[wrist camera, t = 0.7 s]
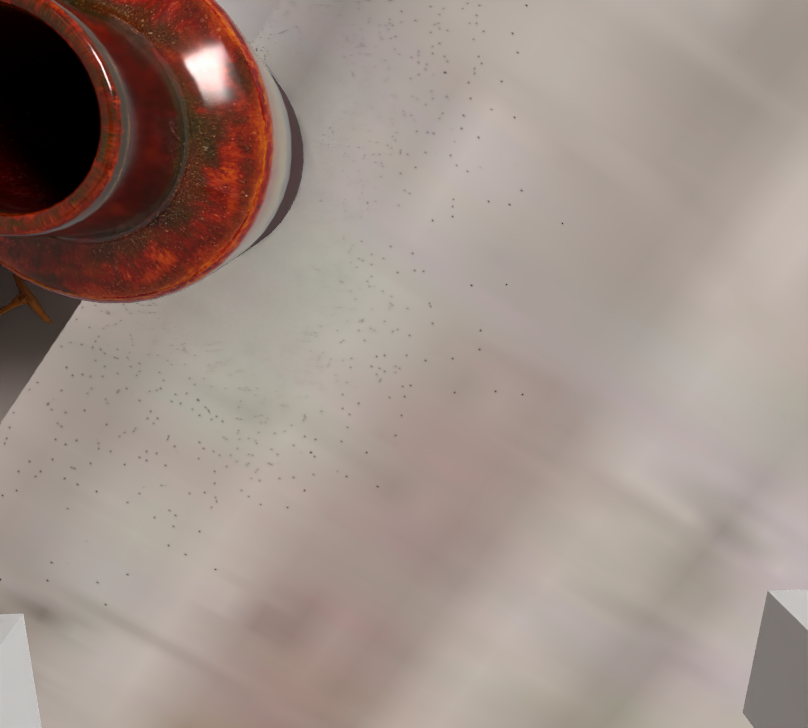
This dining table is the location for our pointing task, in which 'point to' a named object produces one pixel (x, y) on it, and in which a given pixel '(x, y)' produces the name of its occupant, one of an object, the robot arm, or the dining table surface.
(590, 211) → the dining table surface
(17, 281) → the decorative duck model
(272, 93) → the vase
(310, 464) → the dining table surface
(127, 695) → the dining table surface
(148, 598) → the dining table surface
